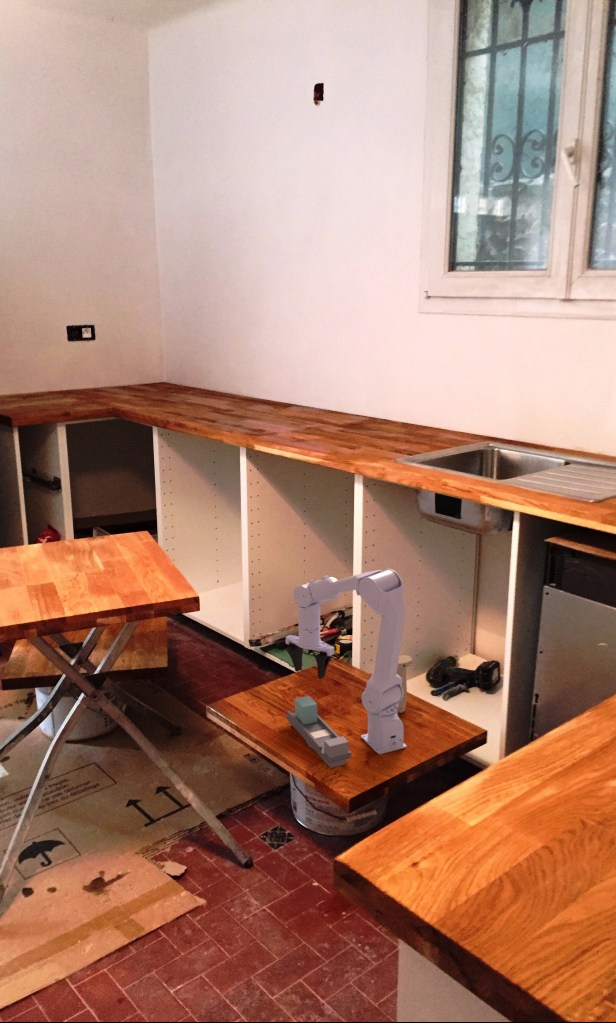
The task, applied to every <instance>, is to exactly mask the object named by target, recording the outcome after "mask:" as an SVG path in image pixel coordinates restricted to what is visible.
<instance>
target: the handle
mask: <svg viewBox="0 0 616 1023" xmlns="http://www.w3.org/2000/svg"><path fill="white" fill-rule="evenodd" d="M412 664H413V658H412V657H411V656H410V655H408V654H407V655H404V654H402V655H400V654H399V660H398V667H397V674H398V675H399V676H400V677H401V678H402V688H403V698H402V700H401V701H400V702H399V706H398V707H397V714H399V713H400V714H402V713H404V712H405V711H406V705H407V699H408V698H407V696H408V689H407V688H408V687H407V686H408V685H407V668H408V667H410V666H412Z"/></svg>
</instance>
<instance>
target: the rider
mask: <svg viewBox="0 0 616 1023" xmlns="http://www.w3.org/2000/svg"><path fill="white" fill-rule="evenodd" d="M294 713H295V717H296V718H297V719H298V720H299V721H300V722H301V724H302V725H306V724H310V723H314V722H317V714H318V703H317V702H316V701H315V700H314V699H313V698H312V697H311V696H310V695H305V696H302V697H296V698H294Z"/></svg>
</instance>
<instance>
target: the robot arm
mask: <svg viewBox="0 0 616 1023" xmlns="http://www.w3.org/2000/svg"><path fill="white" fill-rule="evenodd" d="M404 588H405V582H404V581H403V579H402V578H401V576H400V574H399V573H398V571H396V570H394V569H392V568H386V569H385V570H382V569H377V570H373V571H366V572H362V573H358V574H355V575H352V576H349V577H345V578H342V579H338V578H336V577H333V576H330V577H329V575H324V576H322V577H320V579H318V580H316V579H311V580H309V582H307V583H304V584H299V585H297V586H296V587H294V590H293V592H292V594H293V599H294V602H295V603H296V604H297V606H298V608H297V610H298V612H297V615H298V619H297V620H298V635H292V634H289V635H287V636H286V637H285V644H286V645H288V646H287V647H286V648H285V649H286V652H287V653H288V655H289V656H290V659H291V661H292V665H293V667H294V671H295V672H297V673H298V672H300V671H301V670H302V669H303V668H302V667H303V654H304V650H312V651H314V652H318V654H316V655H314V658H315V661H316V667H317V678H318V679H319V680H322V679H323V678H325V676H326V672H327V668H328V666H329V663H330V661H331V658H332V657H333V656H334V654H335V647H334V646H333V645H331V644H328V643H326V642H325V641H323V640H322V639H321V608H322V606H323V605H322V604H323V602H324V603H325V602H327V601H332V600H333V601H334V600H337V599H338V598H339V597H340V596H341V593H346V592H351V591H355V593H356V595H357V596H359V597H360V598H361V599H362V600H363V601H364V602H365V604H367V606H369V607H370V608H371V609H372V610H373V611H374V612H375V613H376V614H378V615H379V616H381V618H380V626H379V635H378V642H377V647H376V654H375V662H374V670H373V674H372V675H371V677H370V678H368V680H367V682H366V684H365V689H364V690H363V692H362V693H361V702H362V705H363V708H364V709H365V711H366V712H367V733H366V734H365V733H364V734H362V735H360V737H361V739H362V740H364V742H365V743H366V744H367V745H368V746H370V747H371V749H373V751H374V752H375V753H377V754H378V755H381V754H382V755H383V754H385V753H386V754H387V753H390V752H394V751H399V750H401V749H405V748H407V744H406V743H404V732H405V731H404V730H405V729H404V728H405V727H404V723H403V721H402V720H401V718H400V717H399V713H397V707H398V706H399V702H400V701H401V700H402V698H403V688H402V678H401V677H400V676H399V675H398V674H397V667H398V660H399V655H400V653H401V646H402V640H403V632H404V627H405V626H404V625H405V619H406V606H405V601H404V596H403V594H404Z"/></svg>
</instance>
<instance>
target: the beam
mask: <svg viewBox="0 0 616 1023" xmlns="http://www.w3.org/2000/svg"><path fill="white" fill-rule="evenodd" d="M286 720H287V721H288V722H289V723H290V725H291V726H292V727H293V728H294V729H295V731H297V732H298V734H299V735H300V736H301V737H302V738H303V739H304V740H305V743H306V744H307V745H308V747H309V749H313V750H314V752H316V753H317V755H318V756H319V757H320V758H321V759H322V761H324V763H325V764H326V765H327V766H329V767H330V769H332V768H336V767H339V766H343V765H346V764H347V760H349V759H352V751H351V750H350V749H349V747H350V744H349V742H350V741H348V739H347V738H345V737H344V736H343V735H342V736H340V735H338V733H337V732H336V731H335V730H334V729H332V727H331V726H330V724H329V725H328V723H327V722H326V721H325V720H324V719H323V718H322V717H321V716H320V715H319V714H318V713H317V722H314V723H310V724H306V725H302V724H301V722H300V721H299V720H298V719H297V718H296V717H295V712H291V711H290V710H286Z"/></svg>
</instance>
